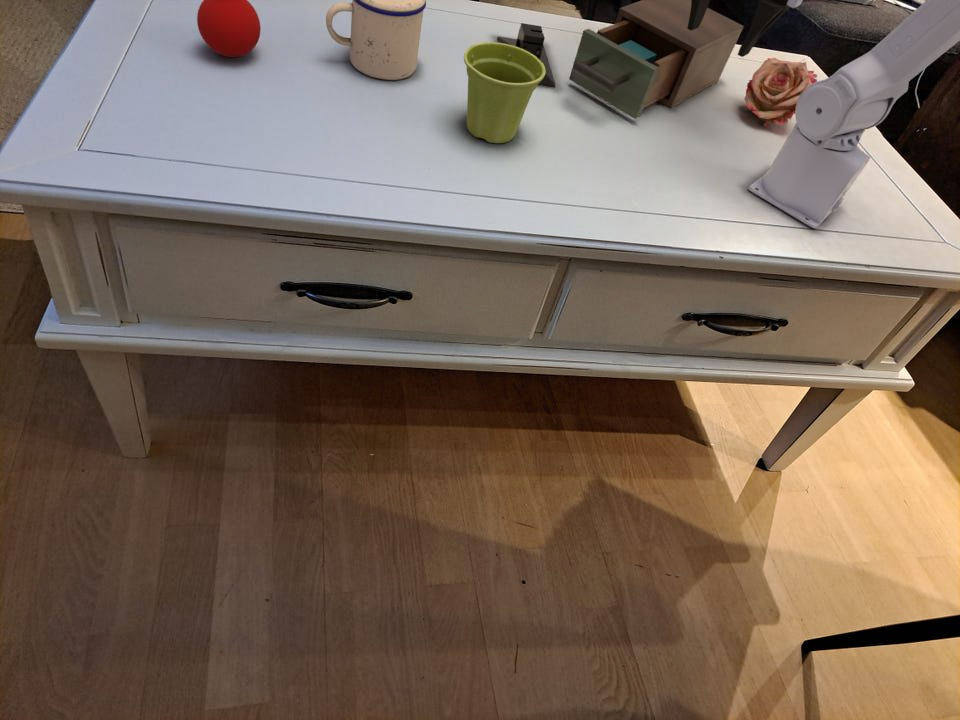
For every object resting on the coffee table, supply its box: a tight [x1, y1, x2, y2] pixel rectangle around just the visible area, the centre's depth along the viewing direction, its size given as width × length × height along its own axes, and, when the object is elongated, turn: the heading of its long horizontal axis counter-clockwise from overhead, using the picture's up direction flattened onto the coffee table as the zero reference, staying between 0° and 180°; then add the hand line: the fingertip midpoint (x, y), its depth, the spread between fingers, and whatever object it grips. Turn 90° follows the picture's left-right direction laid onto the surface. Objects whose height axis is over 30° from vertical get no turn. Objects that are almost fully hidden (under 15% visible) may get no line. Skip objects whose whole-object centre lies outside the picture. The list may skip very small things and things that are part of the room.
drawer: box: [568, 19, 689, 120], centre depth 93 cm, size 18×11×7 cm, turn 138°
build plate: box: [496, 22, 557, 89], centre depth 96 cm, size 12×7×5 cm, turn 5°
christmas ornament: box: [196, 0, 261, 58], centre depth 81 cm, size 7×7×10 cm
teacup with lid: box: [325, 0, 427, 81], centre depth 85 cm, size 12×9×12 cm
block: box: [619, 40, 657, 64], centre depth 94 cm, size 4×4×4 cm
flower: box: [743, 57, 818, 128], centre depth 98 cm, size 10×9×8 cm
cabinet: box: [614, 0, 745, 109], centre depth 100 cm, size 15×13×9 cm
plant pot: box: [463, 41, 546, 144], centre depth 81 cm, size 9×9×9 cm
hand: (717, 41), depth 89 cm, fingers open, 7 cm apart
